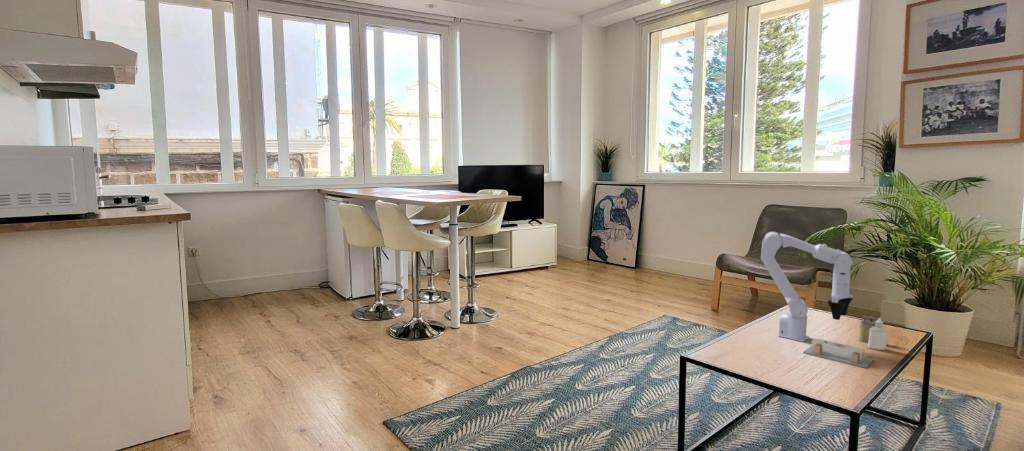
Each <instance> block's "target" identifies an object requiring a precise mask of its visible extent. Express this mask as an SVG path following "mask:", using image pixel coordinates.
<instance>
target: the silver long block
mask: <svg viewBox="0 0 1024 451" xmlns="http://www.w3.org/2000/svg"><path fill="white" fill-rule="evenodd" d="M814 345H818V346H821V349H820V353H821V354H825V355H830V356H834V357H838V358H842V359H847V360H851V354H852V353H853V354H858V355H859V357H858V362H859V363H862V361H863V360H864V358H865V355H866V354H865V352H866V349H865V348H862V347H861V348H860V347H856V346H852V345H847V344H843V343H839V342H838V343H837V342H835V341H834V342H833V341H829V340H825V339H819V338H814V339H813V340H811V346H812V347H811V351H813V350H814Z"/></svg>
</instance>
